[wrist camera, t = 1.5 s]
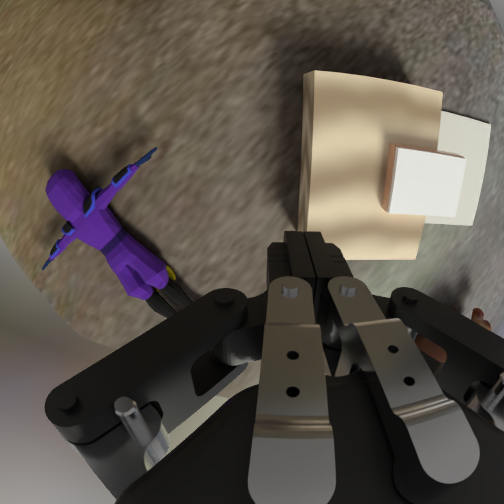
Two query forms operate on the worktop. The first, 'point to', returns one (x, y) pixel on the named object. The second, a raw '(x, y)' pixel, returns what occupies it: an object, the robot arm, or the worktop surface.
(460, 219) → the mat
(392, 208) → the tile
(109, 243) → the toy
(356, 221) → the block
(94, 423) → the robot arm
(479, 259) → the worktop surface
